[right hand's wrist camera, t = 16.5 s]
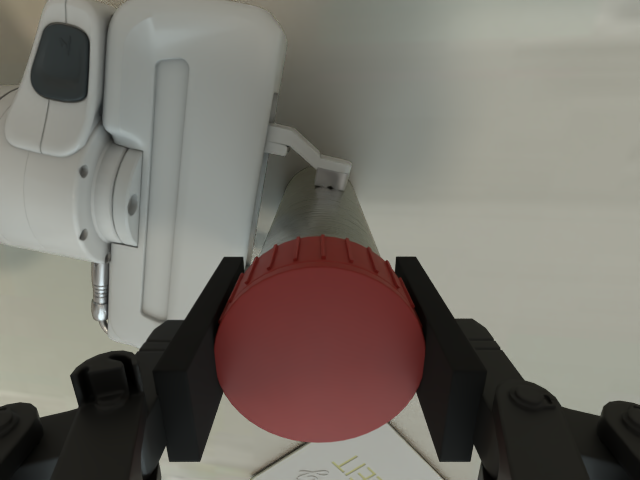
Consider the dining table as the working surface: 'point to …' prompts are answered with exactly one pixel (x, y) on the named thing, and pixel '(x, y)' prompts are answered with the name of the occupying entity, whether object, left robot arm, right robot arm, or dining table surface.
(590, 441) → the right robot arm
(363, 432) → the lid
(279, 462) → the invitation card
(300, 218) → the grey cylindrical bottle
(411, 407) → the dining table surface
